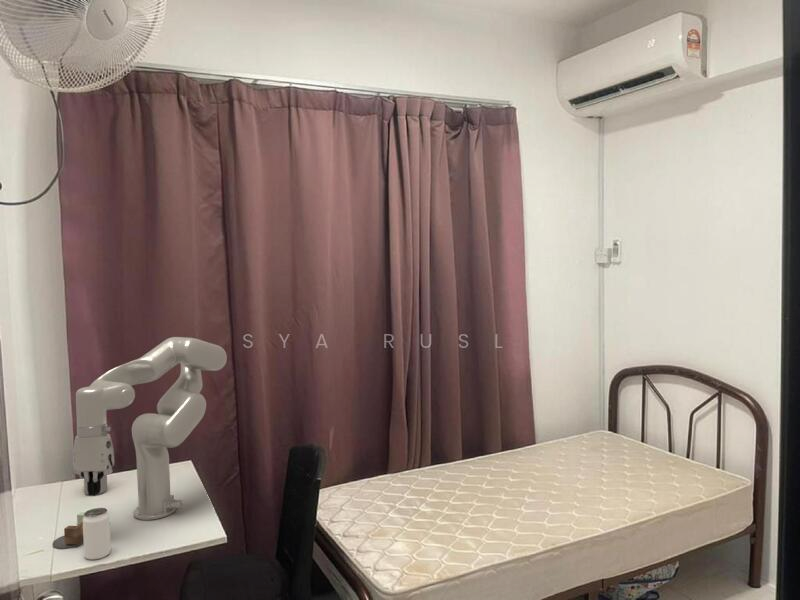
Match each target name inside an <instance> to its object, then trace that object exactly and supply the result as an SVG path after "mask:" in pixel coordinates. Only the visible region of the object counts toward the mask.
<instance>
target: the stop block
mask: <svg viewBox="0 0 800 600" xmlns="http://www.w3.org/2000/svg"><path fill="white" fill-rule="evenodd" d="M85 512H86V511H85ZM85 512H79V513H78V514H77V515H76V522H77V523H76V524H77V525H79V524H80V523H81V522H83V518H84V513H85ZM77 525H76V526H77Z"/></svg>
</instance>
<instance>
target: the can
mask: <svg viewBox="0 0 800 600" xmlns="http://www.w3.org/2000/svg"><path fill="white" fill-rule="evenodd" d="M110 525H111V522H110V514H109V512H108V509H107V508H105V507H97V508H92V509H91V508H90V509H89V510H87V511H85V513H84V518H83V539H84V543H83V553H84V554H83V555H84V558H85V559H86V560H88V561H97V560H101V559H104V558H105V557H107V556H109V555H110V553H111V551H112V550H111V549H112V547H111V546H112V545H111V528H110V527H111V526H110Z"/></svg>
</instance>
